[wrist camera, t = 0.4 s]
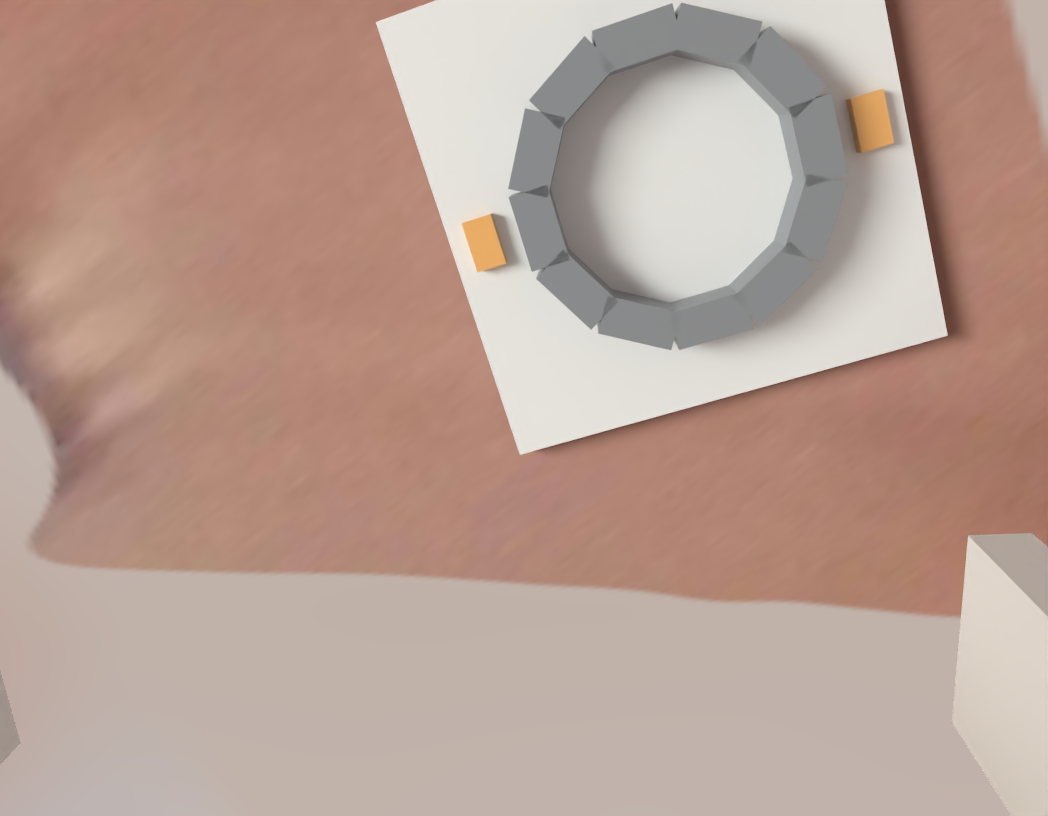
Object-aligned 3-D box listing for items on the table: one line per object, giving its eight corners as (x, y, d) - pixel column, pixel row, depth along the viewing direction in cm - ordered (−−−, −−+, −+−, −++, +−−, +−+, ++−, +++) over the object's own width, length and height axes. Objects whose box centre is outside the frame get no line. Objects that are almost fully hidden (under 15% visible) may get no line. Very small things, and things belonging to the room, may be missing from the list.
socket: (381, 25, 34) (363, 14, 31) (847, -142, 32) (874, -170, 29) (521, 447, 39) (516, 471, 36) (937, 330, 36) (969, 346, 33)
